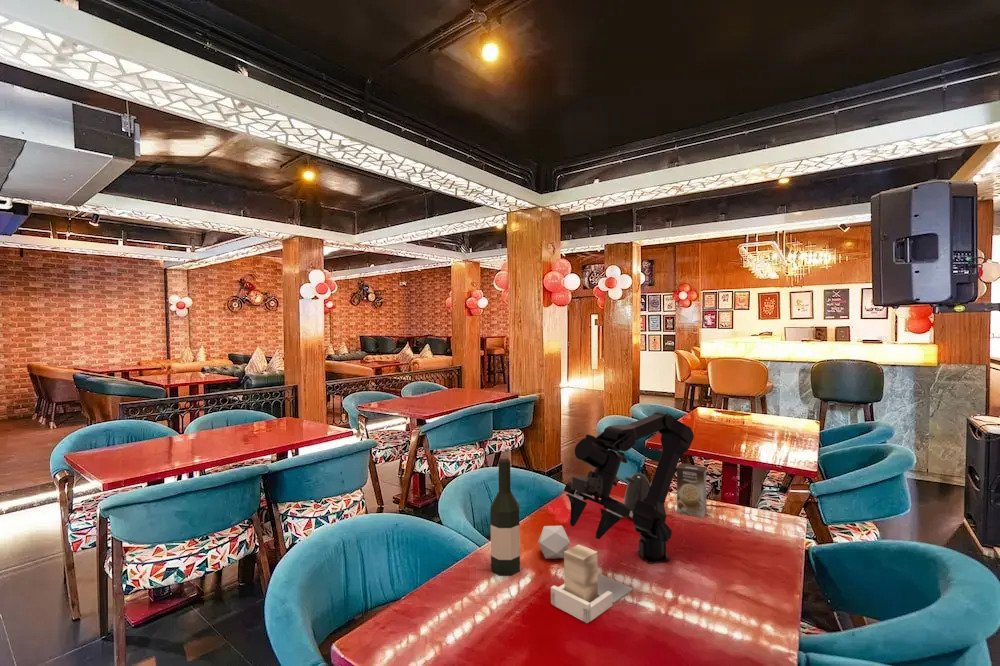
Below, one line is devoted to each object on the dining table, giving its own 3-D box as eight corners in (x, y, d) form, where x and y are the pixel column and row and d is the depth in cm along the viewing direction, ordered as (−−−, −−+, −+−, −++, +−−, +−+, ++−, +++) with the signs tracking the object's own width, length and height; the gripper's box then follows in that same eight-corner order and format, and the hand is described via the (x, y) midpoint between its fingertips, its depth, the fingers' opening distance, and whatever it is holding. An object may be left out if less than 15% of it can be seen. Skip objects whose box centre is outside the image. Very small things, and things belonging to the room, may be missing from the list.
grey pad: (599, 574, 124) (599, 573, 124) (633, 589, 117) (633, 588, 117) (579, 587, 118) (579, 585, 118) (614, 603, 111) (614, 602, 111)
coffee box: (676, 513, 166) (675, 467, 166) (679, 507, 171) (679, 462, 171) (704, 518, 161) (703, 471, 161) (707, 512, 166) (706, 466, 166)
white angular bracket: (576, 588, 118) (576, 572, 118) (612, 605, 110) (612, 588, 110) (551, 604, 111) (550, 587, 111) (587, 623, 104) (587, 605, 104)
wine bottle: (525, 564, 130) (524, 455, 130) (513, 578, 123) (512, 463, 123) (498, 558, 134) (496, 452, 134) (485, 572, 126) (483, 459, 126)
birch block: (579, 595, 114) (578, 544, 114) (598, 605, 110) (597, 551, 110) (564, 605, 111) (564, 551, 111) (583, 615, 107) (583, 559, 107)
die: (561, 569, 129) (578, 534, 132) (532, 550, 130) (550, 517, 133) (557, 566, 137) (573, 533, 140) (530, 548, 138) (547, 517, 141)
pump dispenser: (617, 514, 165) (617, 470, 165) (643, 510, 169) (643, 467, 169) (634, 525, 156) (634, 479, 156) (661, 521, 159) (660, 476, 159)
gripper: (560, 454, 128) (539, 511, 124) (611, 471, 112) (589, 536, 108) (587, 468, 133) (567, 523, 129) (640, 486, 117) (619, 549, 113)
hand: (584, 532), depth 120 cm, fingers open, 9 cm apart
